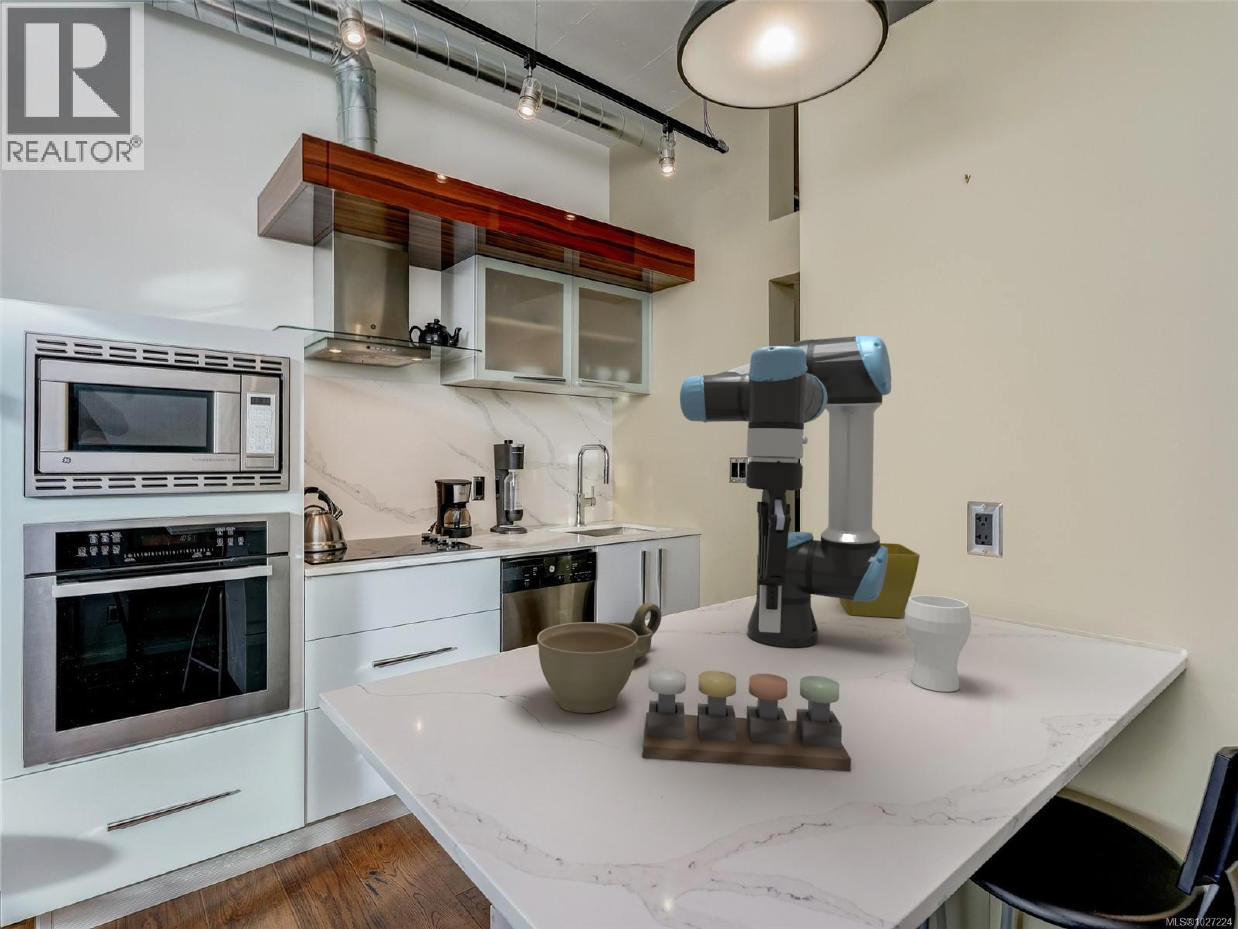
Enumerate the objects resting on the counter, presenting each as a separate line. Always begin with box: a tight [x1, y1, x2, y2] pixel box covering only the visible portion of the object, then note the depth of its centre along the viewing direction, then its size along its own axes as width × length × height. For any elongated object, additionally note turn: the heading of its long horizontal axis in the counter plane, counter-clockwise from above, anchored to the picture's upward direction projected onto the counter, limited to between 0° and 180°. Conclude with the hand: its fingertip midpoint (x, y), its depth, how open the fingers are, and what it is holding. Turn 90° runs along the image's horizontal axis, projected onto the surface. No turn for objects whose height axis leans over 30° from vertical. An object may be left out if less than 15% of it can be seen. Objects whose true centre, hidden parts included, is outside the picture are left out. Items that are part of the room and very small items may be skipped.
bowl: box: [607, 602, 662, 660], centre depth 125 cm, size 14×18×10 cm
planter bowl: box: [536, 621, 638, 714], centre depth 103 cm, size 16×16×11 cm
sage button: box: [799, 675, 841, 722], centre depth 88 cm, size 5×5×5 cm
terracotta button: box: [748, 673, 788, 719], centre depth 89 cm, size 5×5×5 cm
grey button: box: [648, 667, 687, 713], centre depth 90 cm, size 5×5×5 cm
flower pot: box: [838, 542, 920, 619], centre depth 166 cm, size 19×19×17 cm
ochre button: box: [698, 670, 737, 716], centre depth 89 cm, size 5×5×5 cm
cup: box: [904, 594, 972, 693], centre depth 114 cm, size 11×11×15 cm
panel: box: [642, 700, 852, 771], centre depth 89 cm, size 27×11×4 cm, turn 85°
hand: (769, 630), depth 88 cm, fingers closed
